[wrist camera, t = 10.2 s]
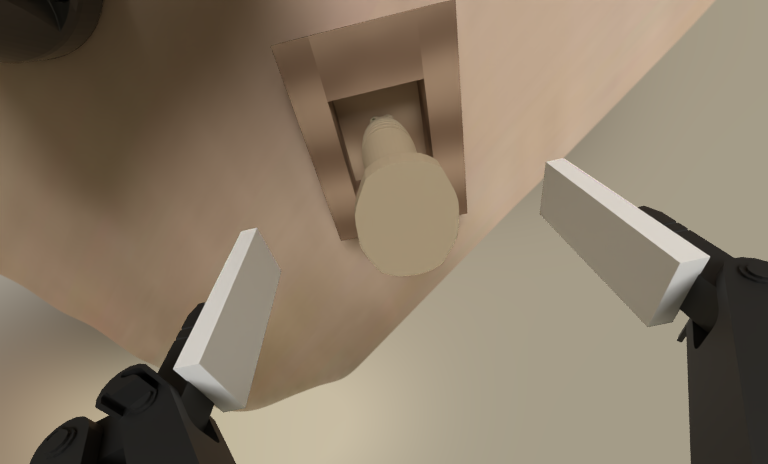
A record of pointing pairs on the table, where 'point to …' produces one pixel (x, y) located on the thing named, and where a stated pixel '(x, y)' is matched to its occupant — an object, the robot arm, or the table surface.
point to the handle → (403, 203)
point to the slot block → (377, 96)
